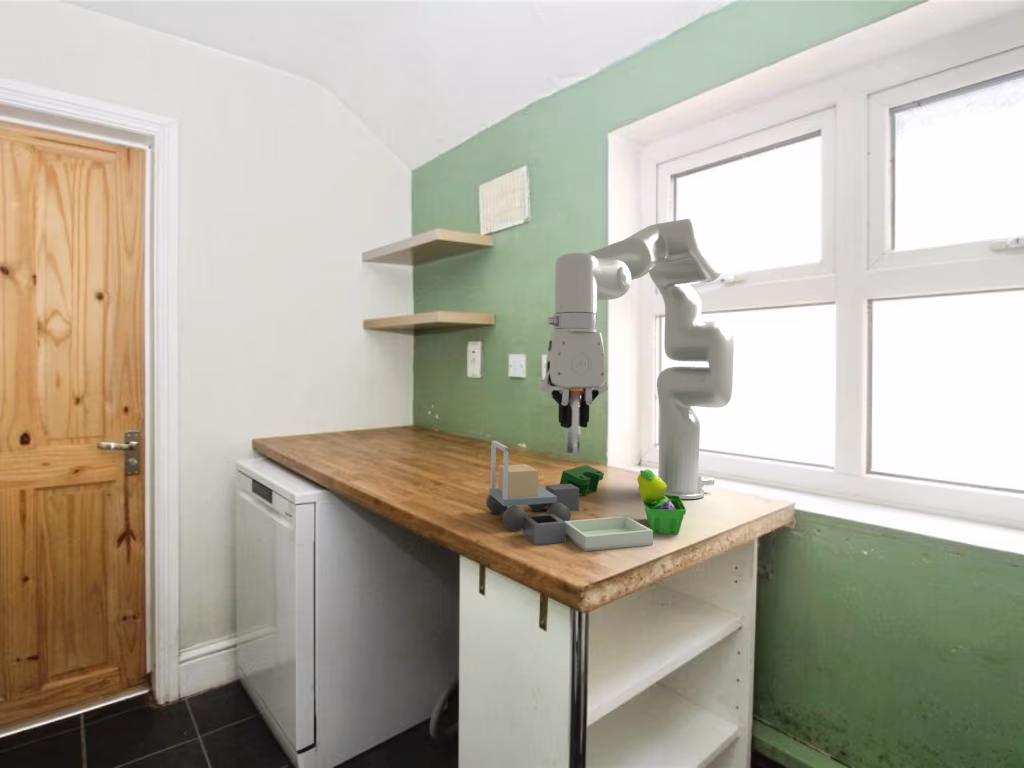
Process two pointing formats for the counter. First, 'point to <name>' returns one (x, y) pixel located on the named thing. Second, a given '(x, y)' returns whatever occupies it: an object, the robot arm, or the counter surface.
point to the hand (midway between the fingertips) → (573, 425)
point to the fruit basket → (660, 504)
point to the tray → (608, 533)
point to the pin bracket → (544, 529)
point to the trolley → (519, 492)
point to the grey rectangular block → (565, 495)
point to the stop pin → (574, 421)
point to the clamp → (582, 478)
